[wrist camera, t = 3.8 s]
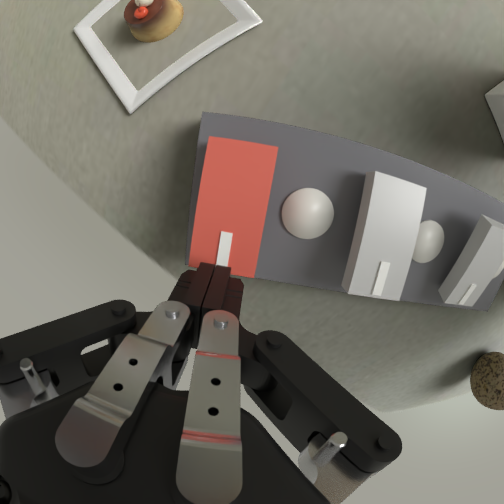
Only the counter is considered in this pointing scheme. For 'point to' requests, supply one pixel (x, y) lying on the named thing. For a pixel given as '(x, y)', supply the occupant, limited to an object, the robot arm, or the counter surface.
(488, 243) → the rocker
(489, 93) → the milk carton
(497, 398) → the decorative egg
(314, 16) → the counter surface
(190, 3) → the counter surface
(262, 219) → the red rocker
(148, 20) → the dessert
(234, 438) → the robot arm
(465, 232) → the rocker switch box
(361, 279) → the middle rocker
